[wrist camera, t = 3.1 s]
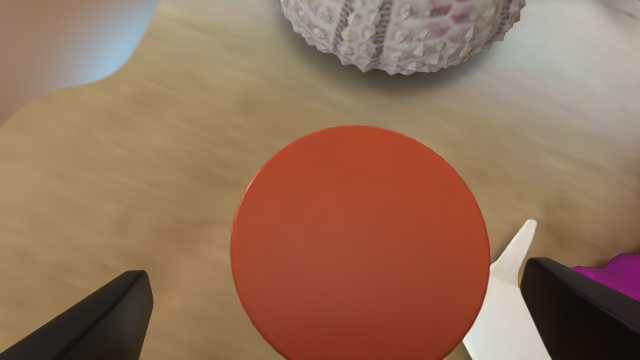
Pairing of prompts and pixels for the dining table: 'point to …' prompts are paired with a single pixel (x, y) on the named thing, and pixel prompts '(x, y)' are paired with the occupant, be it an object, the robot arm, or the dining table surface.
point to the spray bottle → (511, 311)
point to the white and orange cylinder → (360, 249)
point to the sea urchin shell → (402, 30)
